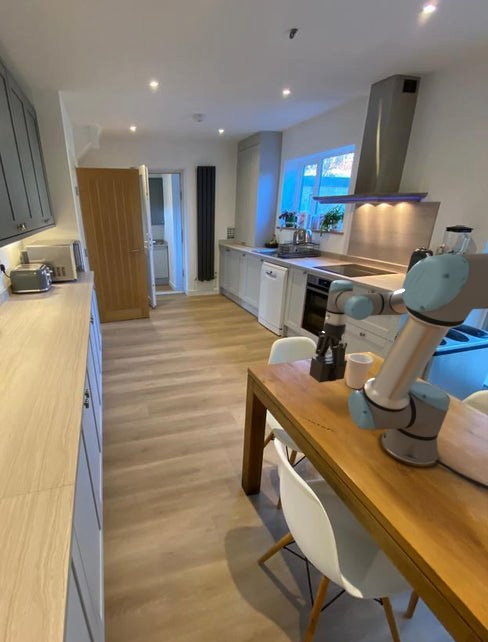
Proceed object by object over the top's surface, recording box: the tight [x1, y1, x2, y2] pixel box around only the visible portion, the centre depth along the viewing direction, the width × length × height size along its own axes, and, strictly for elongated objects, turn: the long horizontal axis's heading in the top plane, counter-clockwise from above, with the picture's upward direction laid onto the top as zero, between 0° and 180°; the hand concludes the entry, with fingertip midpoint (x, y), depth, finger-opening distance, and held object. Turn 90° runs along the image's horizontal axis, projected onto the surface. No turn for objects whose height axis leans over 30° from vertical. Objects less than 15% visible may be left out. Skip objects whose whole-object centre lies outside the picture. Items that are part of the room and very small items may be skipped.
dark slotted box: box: [308, 353, 347, 383], centre depth 129 cm, size 12×7×8 cm, turn 104°
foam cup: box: [346, 353, 374, 390], centre depth 138 cm, size 10×9×13 cm
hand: (325, 376), depth 130 cm, fingers closed on dark slotted box, 7 cm apart
